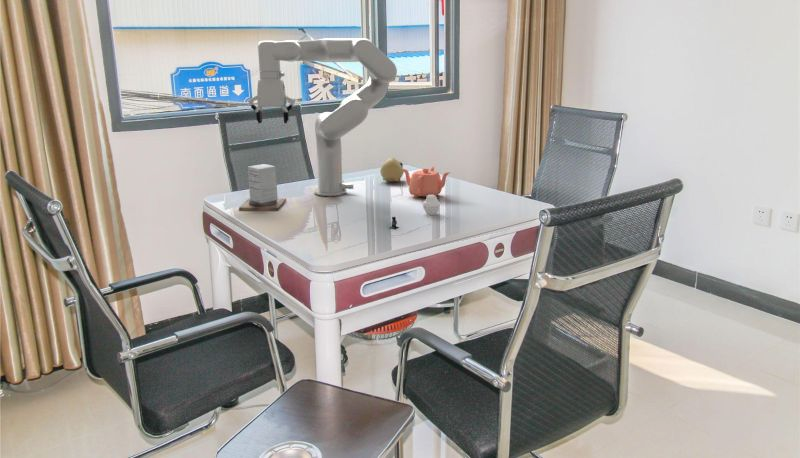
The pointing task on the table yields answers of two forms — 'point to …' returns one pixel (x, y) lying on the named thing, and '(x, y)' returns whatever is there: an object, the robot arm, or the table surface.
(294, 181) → the table surface
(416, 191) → the teapot
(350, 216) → the table surface
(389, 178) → the pale yellow rounded lump
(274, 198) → the supplement box
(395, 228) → the sculpture
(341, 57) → the robot arm
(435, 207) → the muffin
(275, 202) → the brown square board
